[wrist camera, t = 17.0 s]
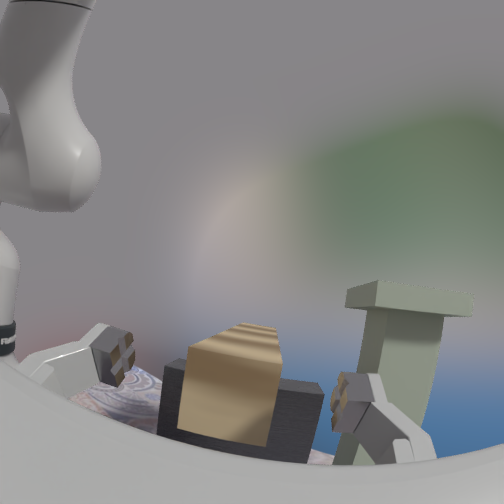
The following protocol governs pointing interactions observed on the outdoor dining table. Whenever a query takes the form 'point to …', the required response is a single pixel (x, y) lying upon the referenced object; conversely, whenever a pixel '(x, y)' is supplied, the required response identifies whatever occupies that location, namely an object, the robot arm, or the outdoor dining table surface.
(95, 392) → the outdoor dining table surface
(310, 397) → the dark grey upright block
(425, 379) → the pedestal
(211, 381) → the beam
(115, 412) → the outdoor dining table surface
